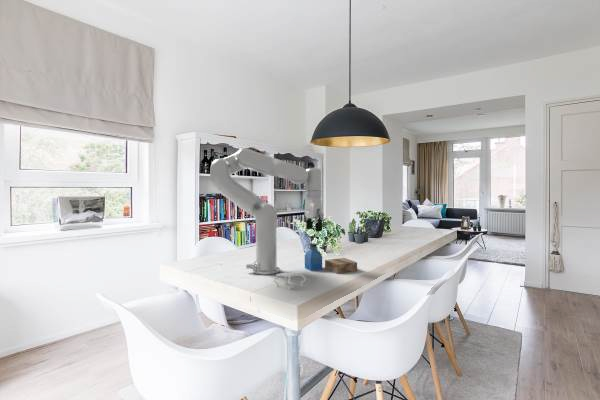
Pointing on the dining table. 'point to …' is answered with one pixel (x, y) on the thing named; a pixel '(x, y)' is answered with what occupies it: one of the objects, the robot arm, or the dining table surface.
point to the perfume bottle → (313, 259)
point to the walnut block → (341, 265)
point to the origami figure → (289, 277)
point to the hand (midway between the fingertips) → (313, 230)
